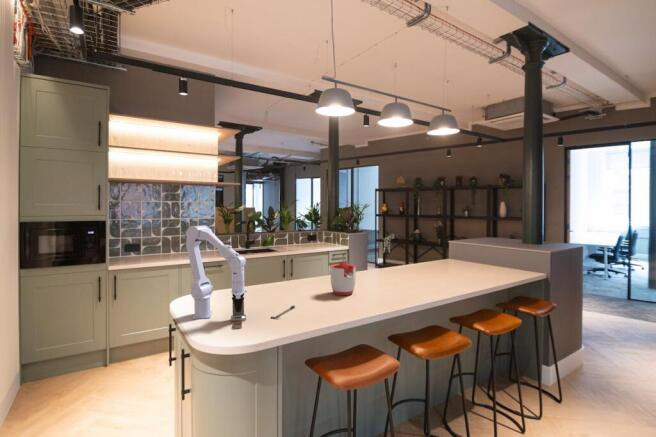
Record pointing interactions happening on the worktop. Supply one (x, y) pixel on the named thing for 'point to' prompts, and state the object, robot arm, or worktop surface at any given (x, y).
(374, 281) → the worktop surface
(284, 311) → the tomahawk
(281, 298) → the worktop surface
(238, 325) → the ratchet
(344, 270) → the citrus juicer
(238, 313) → the dark grey block
